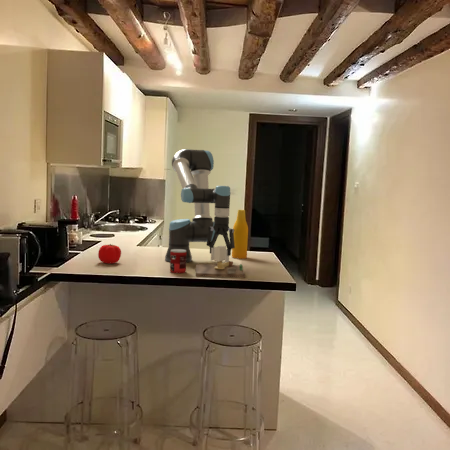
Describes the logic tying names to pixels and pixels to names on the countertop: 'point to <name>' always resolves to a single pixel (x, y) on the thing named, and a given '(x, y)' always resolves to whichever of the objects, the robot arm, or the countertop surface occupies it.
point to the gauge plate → (220, 270)
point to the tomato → (109, 254)
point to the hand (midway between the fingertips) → (219, 260)
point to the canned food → (178, 261)
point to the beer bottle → (240, 236)
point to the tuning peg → (220, 257)
